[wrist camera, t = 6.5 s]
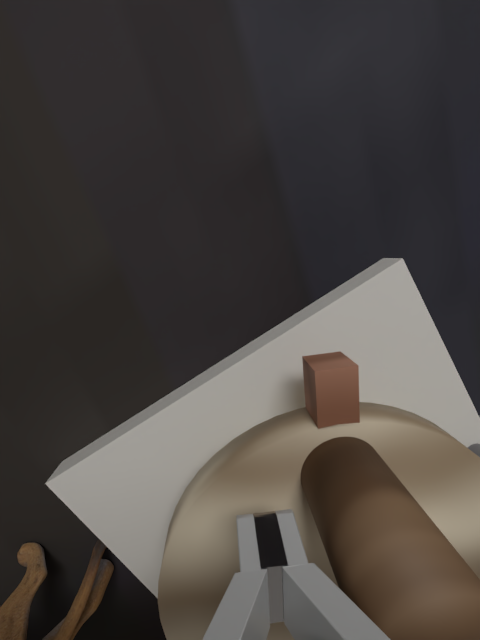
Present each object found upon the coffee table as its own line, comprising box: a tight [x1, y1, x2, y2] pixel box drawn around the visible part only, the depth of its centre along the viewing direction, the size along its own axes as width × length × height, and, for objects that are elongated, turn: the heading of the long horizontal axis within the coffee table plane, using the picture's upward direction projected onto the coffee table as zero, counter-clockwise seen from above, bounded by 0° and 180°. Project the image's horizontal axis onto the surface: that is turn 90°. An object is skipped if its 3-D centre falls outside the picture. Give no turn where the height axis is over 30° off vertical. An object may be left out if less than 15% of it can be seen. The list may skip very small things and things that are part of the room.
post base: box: [45, 258, 480, 598], centre depth 13 cm, size 19×19×8 cm
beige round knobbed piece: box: [158, 351, 480, 640], centre depth 10 cm, size 17×15×6 cm
